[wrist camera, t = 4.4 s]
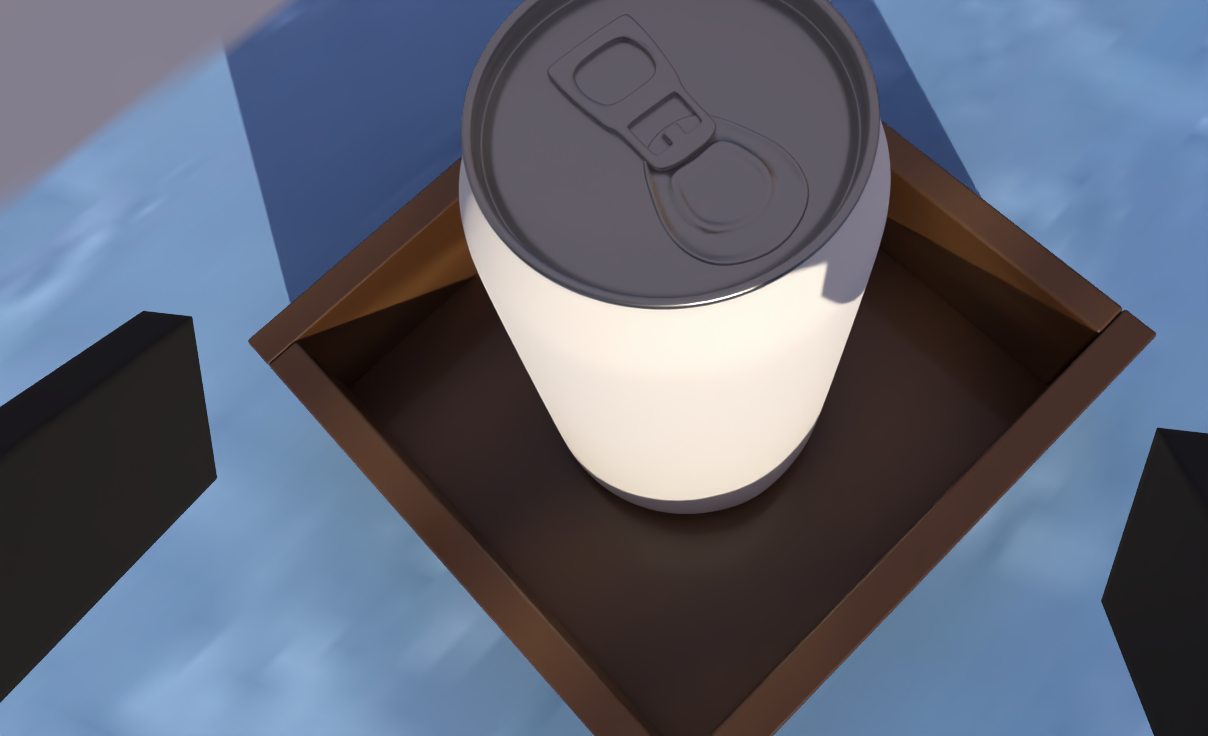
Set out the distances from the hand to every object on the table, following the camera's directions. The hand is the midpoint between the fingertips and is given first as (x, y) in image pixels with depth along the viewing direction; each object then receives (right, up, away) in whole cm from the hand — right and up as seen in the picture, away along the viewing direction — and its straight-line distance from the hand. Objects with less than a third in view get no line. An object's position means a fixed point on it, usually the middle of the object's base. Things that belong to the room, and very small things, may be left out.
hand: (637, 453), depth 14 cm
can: (+2, +1, +11) cm, 11 cm away
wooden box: (+2, +1, +11) cm, 11 cm away
